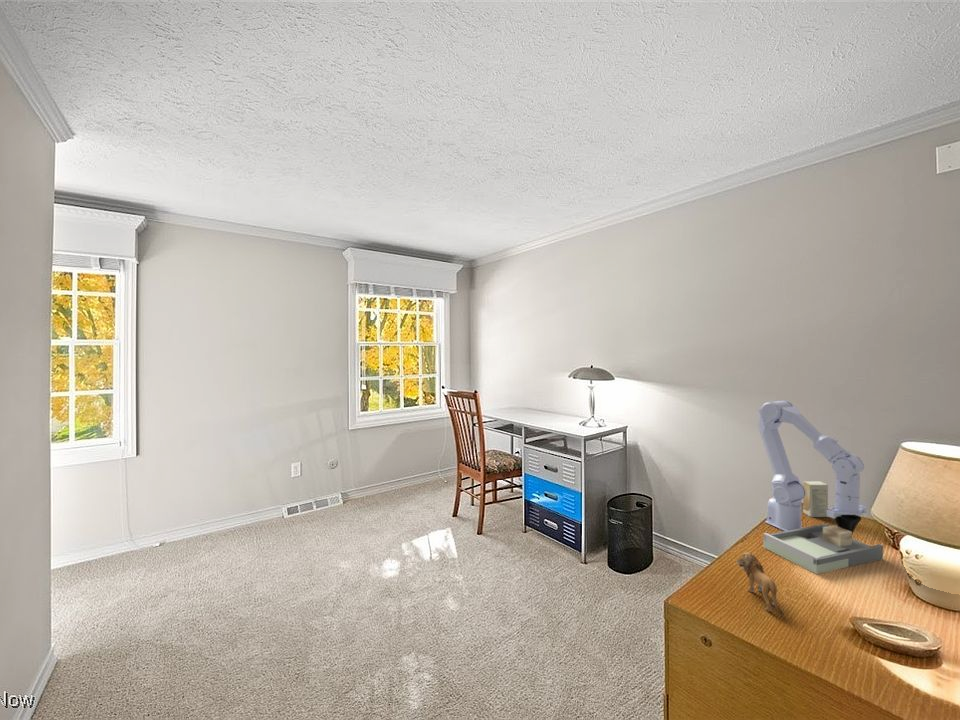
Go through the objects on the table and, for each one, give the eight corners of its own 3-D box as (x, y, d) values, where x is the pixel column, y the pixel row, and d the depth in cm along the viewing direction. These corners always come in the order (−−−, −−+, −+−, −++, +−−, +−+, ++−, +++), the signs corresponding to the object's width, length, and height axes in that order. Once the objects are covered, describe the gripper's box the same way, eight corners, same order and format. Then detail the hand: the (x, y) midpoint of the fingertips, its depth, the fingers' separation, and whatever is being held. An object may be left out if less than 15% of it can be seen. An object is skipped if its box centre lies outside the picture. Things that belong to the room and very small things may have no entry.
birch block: (822, 539, 132) (822, 527, 132) (833, 537, 134) (834, 524, 134) (840, 546, 128) (840, 534, 127) (851, 544, 129) (852, 531, 129)
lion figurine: (732, 582, 114) (733, 549, 114) (752, 581, 114) (752, 549, 114) (773, 617, 99) (773, 580, 99) (794, 616, 99) (795, 579, 99)
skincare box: (820, 512, 159) (820, 480, 158) (828, 517, 154) (829, 484, 154) (801, 512, 159) (802, 480, 159) (809, 517, 155) (810, 484, 155)
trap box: (763, 547, 133) (763, 533, 133) (825, 535, 140) (825, 522, 140) (816, 574, 117) (816, 558, 117) (882, 559, 125) (883, 544, 125)
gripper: (845, 501, 125) (843, 546, 126) (878, 496, 129) (876, 539, 130) (820, 493, 132) (818, 536, 133) (852, 488, 136) (851, 529, 137)
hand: (845, 537), depth 132 cm, fingers closed
